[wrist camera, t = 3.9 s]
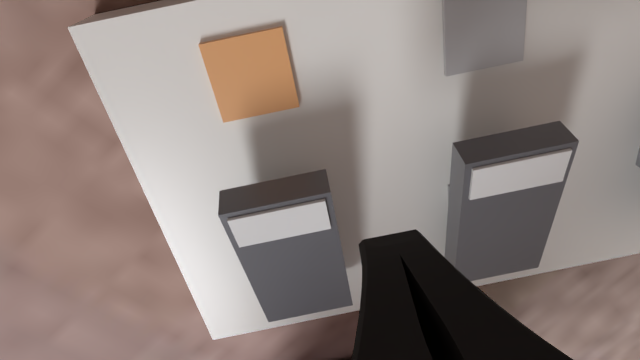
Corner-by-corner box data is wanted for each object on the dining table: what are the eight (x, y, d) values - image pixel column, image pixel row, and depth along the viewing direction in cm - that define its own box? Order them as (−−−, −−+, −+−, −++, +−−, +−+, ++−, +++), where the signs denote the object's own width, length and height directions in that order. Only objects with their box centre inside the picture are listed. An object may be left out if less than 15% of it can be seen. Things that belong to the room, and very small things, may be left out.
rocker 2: (525, 246, 17) (539, 269, 16) (444, 262, 17) (454, 287, 16) (559, 120, 13) (581, 143, 12) (452, 142, 13) (466, 166, 12)
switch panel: (706, 205, 20) (759, 238, 18) (217, 304, 20) (211, 350, 18) (824, -139, 13) (930, -152, 11) (93, 14, 13) (59, 31, 11)
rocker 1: (348, 282, 17) (353, 307, 16) (267, 299, 17) (268, 324, 16) (325, 168, 13) (331, 194, 12) (219, 190, 13) (217, 218, 12)
